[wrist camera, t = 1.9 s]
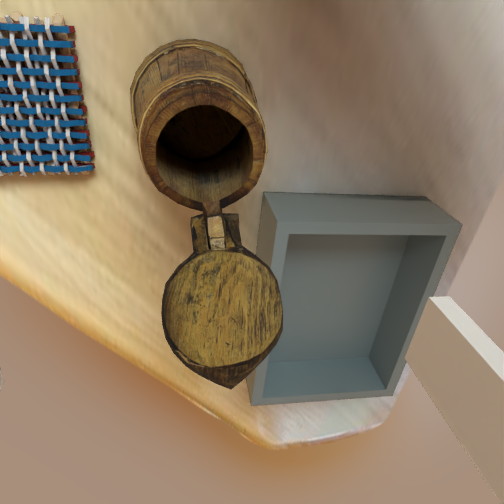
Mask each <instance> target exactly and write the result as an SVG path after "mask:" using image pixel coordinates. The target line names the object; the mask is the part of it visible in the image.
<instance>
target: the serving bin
mask: <svg viewBox="0 0 504 504" xmlns="http://www.w3.org/2000/svg"><path fill="white" fill-rule="evenodd" d="M461 227H462V224H461V223H460V222H459V221H457V220H456V219H455V218H453V217H452V216H451V215H449V214H448V213H447V212H445V211H444V210H443V209H441V208H440V207H439V206H437V205H436V204H435V203H433V202H432V201H431V200H429V199H428V198H427V197H418V196H385V195H351V194H318V193H284V192H263V200H262V208H261V217H260V225H259V234H258V242H257V250H256V256H257V257H259V258H260V259H261V260H262V261H263V262H265V263H266V264H267V265H268V266H269V267H270V268H271V270H272V272H273V274H274V275H275V277H276V279H277V281H278V285H279V290H280V295H281V300H282V306H283V331H282V333H281V335H280V338H279V340H278V342H277V344H276V346H275V347H274V348H273V349H272V351H271V352H270V353H269V354H268V356H267V357H266V358H265V359H264V360H263V361H262V362H261V363H260V364H259V365H258V366H257V367H256V368H255V369H254V370H253V371H252V372H251V373H250V374H249V375H248V376H247V377H246V382H247V387H248V392H249V398H250V403H251V406H257V405H271V404H284V403H298V402H312V401H326V400H340V399H354V398H367V397H381V396H393V393H394V391H395V388H396V386H397V383H398V381H399V378H400V376H401V374H402V371H403V369H404V366H405V364H406V360H405V356H406V353H407V351H408V348H409V346H410V343H411V341H412V338H413V336H414V333H415V331H416V328H417V326H418V323H419V320H420V318H421V315H422V313H423V310H424V308H425V305H426V303H427V300H428V298H429V297H433V295H434V293H435V290H436V288H437V286H438V283H439V281H440V278H441V276H442V273H443V271H444V268H445V266H446V264H447V261H448V259H449V256H450V254H451V251H452V249H453V246H454V244H455V242H456V239H457V237H458V234H459V232H460V229H461Z"/></svg>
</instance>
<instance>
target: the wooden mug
mask: <svg viewBox="0 0 504 504" xmlns="http://www.w3.org/2000/svg"><path fill="white" fill-rule="evenodd" d="M130 92H131V112H132V117H133V122H134V127H135V129H136V132H137V140H138V147H139V154H140V158H141V161H142V164H143V166H144V169H145V172H146V174H147V175H148V177H149V178H150V180H151V181H152V183H153V184H154V185H155V187H156V188H157V189H158V190H159V191H160V192H161V193H163V194H164V195H166V196H167V197H169V198H170V199H172V200H173V201H175V202H177V203H178V204H181V205H183V206H186V207H189V208H191V209H196V210H200V211H203V214H201V215H197V216H194V217H191V232H192V242H193V251H194V252H193V253H192V254H191V256H190V257H189V258H188V259H186V260H185V261H184V262H183V263H181V264H180V265H179V266H178V267H177V269H176V270H175V271H174V273H173V274H172V276H171V277H170V278H169V280H168V281H167V282H166V284H165V289H164V294H163V299H162V312H161V313H162V325H163V329H164V333H165V338H166V340H167V342H168V344H169V345H170V347H171V349H172V351H173V353H174V354H175V355H176V356H177V357H178V358H179V359H180V360H181V361H182V363H183V364H184V365H185V366H186V367H188V368H189V369H191V370H192V371H194V372H195V373H197V374H198V375H200V376H202V377H204V378H206V379H208V380H210V381H212V382H214V383H216V384H219V385H221V386H224V387H226V388H229V389H232V388H234V387H235V386H236V385H237V384H238V383H240V382H241V381H242V380H243V379H244V378H246V377H247V376H248V375H249V374H250V373H251V372H252V371H253V370H254V369H255V368H256V367H257V366H258V365H259V364H260V363H261V362H262V361H263V360H264V359H265V358H266V357H267V356H268V354H269V353H270V352H271V351H272V349H273V348H274V347H275V346H276V344H277V342H278V340H279V338H280V335H281V333H282V331H283V306H282V300H281V295H280V290H279V285H278V281H277V279H276V277H275V275H274V274H273V272H272V270H271V268H270V267H269V266H268V265H267V264H266V263H265V262H263V261H262V260H261V259H260V258H259V257H257V256H256V255H254V254H253V253H251V252H250V251H249V250H247V249H246V248H245V247H243V246H242V244H241V238H240V232H239V217H238V214H225V213H222V208H224V207H226V206H228V205H230V204H232V203H234V202H236V201H238V200H239V199H241V198H242V197H244V196H245V195H247V194H248V193H249V192H250V191H251V190H252V188H253V187H254V186H255V185H256V184H257V181H258V179H259V177H260V174H261V172H262V169H263V166H264V163H265V160H266V156H267V152H268V150H267V141H266V133H265V126H264V122H263V120H262V117H261V115H260V113H259V110H258V108H257V100H256V97H255V94H254V91H253V88H252V85H251V83H250V81H249V79H248V78H247V76H246V73H245V71H244V68H243V66H242V64H241V63H240V62H239V61H238V60H237V59H236V58H235V57H234V56H233V55H232V54H231V53H230V52H229V51H228V50H227V49H224V48H222V47H220V46H217V45H215V44H213V43H210V42H206V41H201V40H196V39H187V40H176V41H174V42H171V43H168V44H166V45H163V46H161V47H159V48H158V49H156V50H155V51H154V52H152V53H151V54H150V55H149V56H147V57H146V58H145V60H144V61H143V63H142V64H141V66H140V67H139V68H138V70H137V71H136V73H135V76H134V79H133V82H132V85H131V88H130Z"/></svg>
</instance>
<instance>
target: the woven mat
mask: <svg viewBox="0 0 504 504" xmlns="http://www.w3.org/2000/svg"><path fill="white" fill-rule="evenodd" d="M4 17H5V19H6V20H5V19H4V18H0V50H1V52H0V60H3V62H4V64H5V66H0V114H1V117H0V126H1V125H2V127H3V128H4V129H0V176H4V175H7V174H8V173H9V175H13V173H12V172H16V171H20V174H19V175H20V176H25V177H27V175H26V173H25V172H28V173H32V175H36V172H38V171H41V172H42V174H43V175H46V173H45V171H47V173H48V174H49V175H54V176H55V175H56V173H57V174H61V172H62V171H65V173H66V174H68V175H70V174H69V173H71V172H74V175H77V174H78V172H80V173H82V174H84V175H87V174H90V170H93V168H95V165H94V163H89V161H91V159H90V157H94V151H92V152H87V149H89V148H90V147H91V141H86V139H87V136H89V135H90V134H89V130H84V127H83V126H85V125H86V124H88V123H87V119H82V115H83V112H86V111H87V107H86V106H81V105H79V101H82V100H84V97H83V95H82V94H78V92H77V89H78V90H79V88H82V84H81V82H78V81H76V80H75V75H79V74H80V72H79V69H74V68H73V63H75V62H74V61H78V56H77V55H71V50H70V48H74V47H76V46H75V41H69V38H68V35H67V33H70V32H75V28H74V26H66V25H64V17H63V15H60V14H57V13H56V14H55V15H54V16H53V25H50V18H46V17H45V25H44V23H43V20H39V18H38V17H33V18H34V22H35V24H29V17H25V16H24V17H23V15H22V14H21V12H14V13H13V14H12V16H11V18H10V16H9V15H6V16H4ZM11 19H12V21H13V22H14V23H12V21H11ZM6 21H7V22H6ZM8 31H9V33H8ZM14 31H17V32H18V36H19V38H14ZM30 31H34V32H36V35H37V39H33V36H32V34H31V32H30ZM51 32H54V33H55V36H56V38H57V40H53V37H52V34H51ZM9 34H10V37H9ZM47 36H48V37H47ZM48 38H49V40H48ZM17 46H21V50H22V53H19V51H18V48H17ZM36 47H38V53H37V50H36ZM50 47H51V53H50ZM55 47H59V48H60V53H61V54H55ZM21 61H24V63H25V67H21ZM57 61H58V62H62V64H63V68H59V67H58V64H57ZM39 62H40V63H39ZM40 64H41V66H42V68H41V67H40ZM2 74H7V75H8V79H4V78H3V75H2ZM23 74H26V75H27V76H28V80H25V78H24V76H23ZM43 75H45V78H46V80H45V78H44V77H43ZM60 76H65V81H60ZM38 77H39V78H40V80H39V78H38ZM7 87H9V89H10V90H11V92H10V91H9V90H8V88H7ZM27 88H28V92H27ZM40 88H42V91H41V92H40ZM61 88H64V89H67V92H68V94H63V91H62V89H61ZM46 89H48V93H47V92H46ZM11 101H14V105H11ZM29 101H31V103H32V105H33V106H31V104H30V102H29ZM48 101H50V103H51V106H48ZM65 102H68V105H65ZM13 113H15V114H16V116H15V117H14V116H13ZM28 114H29V116H28ZM33 114H36V116H37V117H33ZM50 114H53V118H50ZM66 114H69V115H70V117H71V118H68V117H67V115H66ZM16 126H19V127H20V129H21V130H18V129H16ZM35 126H39V130H37V129H36V127H35ZM52 126H53V128H52ZM70 126H74V130H71V129H70ZM64 127H66V128H64ZM2 137H3V138H7V139H8V141H3V139H2ZM18 138H22V140H23V141H18ZM40 138H41V139H42V141H39V139H40ZM53 138H56V139H57V141H54V139H53ZM71 138H76V141H72V140H71ZM19 149H22V150H26V151H20V150H19ZM40 149H43V150H44V152H41V150H40ZM58 149H60V151H61V152H57V150H58ZM6 150H7V151H6ZM69 150H70V152H69ZM74 150H78V152H74ZM8 160H9V161H11V163H9V161H8ZM25 160H27V161H28V162H29V163H24V162H23V161H25ZM70 160H71V161H70ZM75 160H79V161H80V163H76V162H75ZM58 161H61V162H63V163H61V162H58ZM71 162H72V163H71Z"/></svg>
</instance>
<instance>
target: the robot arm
mask: <svg viewBox="0 0 504 504" xmlns="http://www.w3.org/2000/svg"><path fill="white" fill-rule="evenodd" d="M405 360H406V361H407V363H408V364H409V366H410V367H411V369H412V370H413V372H414V374H415V375H416V377H417V378H418V379H419V381H420V382H421V384H422V386H423V387H424V389H425V390H426V392H427V393H428V395H429V396H430V398H431V399H432V401H433V402H434V404H435V405H436V407H437V408H438V410H439V411H440V413H441V414H442V416H443V418H444V419H445V420H446V422H447V423H448V425H449V427H450V428H451V430H452V431H453V432H454V434H455V436H456V437H457V439H458V440H459V442H460V443H461V445H462V446H463V447H464V449H465V451H466V452H467V454H468V455H469V457H470V458H471V460H472V461H473V463H474V465H475V466H476V468H477V469H478V471H479V472H480V474H481V475H482V476H483V478H484V479H485V481H486V483H487V484H488V486H489V487H490V489H491V490H492V492H493V493H494V495H495V496H496V498H497V499H498V501H499V502H500V504H504V352H502V350H500V348H499V347H498V346H497V345H496V344H495V343H494V342H493V341H492V340H491V339H490V338H489V337H488V336H487V335H486V334H485V333H484V332H483V331H482V329H481V328H480V327H479V326H478V325H477V324H476V323H475V322H474V321H473V320H472V319H471V318H470V317H469V316H468V315H467V314H466V313H465V312H464V311H463V310H462V309H461V308H460V307H459V306H458V305H457V303H456V302H455V301H453V299H451V297H449V296H448V297H429V298H428V300H427V303H426V305H425V308H424V310H423V313H422V315H421V318H420V320H419V323H418V326H417V328H416V331H415V333H414V336H413V338H412V341H411V343H410V346H409V348H408V351H407V353H406V356H405ZM3 383H4V378H3V375H2V372H1V368H0V389H1V387H2V385H3Z"/></svg>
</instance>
